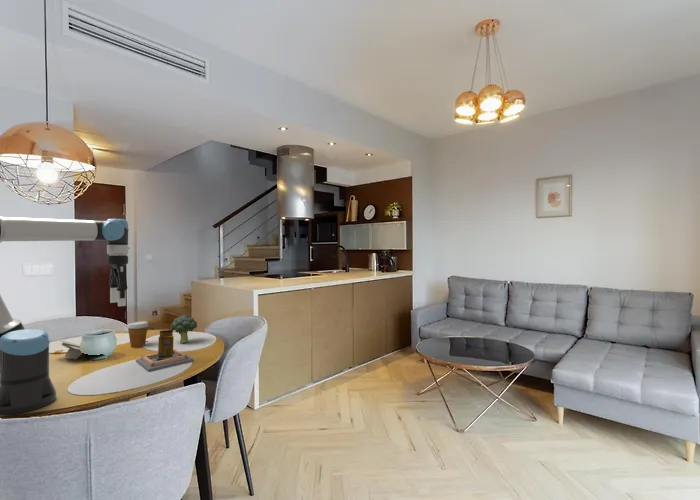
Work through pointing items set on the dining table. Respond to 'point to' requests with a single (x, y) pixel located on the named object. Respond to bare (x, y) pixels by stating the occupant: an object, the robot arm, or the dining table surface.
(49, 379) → the robot arm
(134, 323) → the disposable coffee cup
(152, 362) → the holder
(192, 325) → the vegetable
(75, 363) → the dining table surface
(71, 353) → the grey angled piece
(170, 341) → the condiment
